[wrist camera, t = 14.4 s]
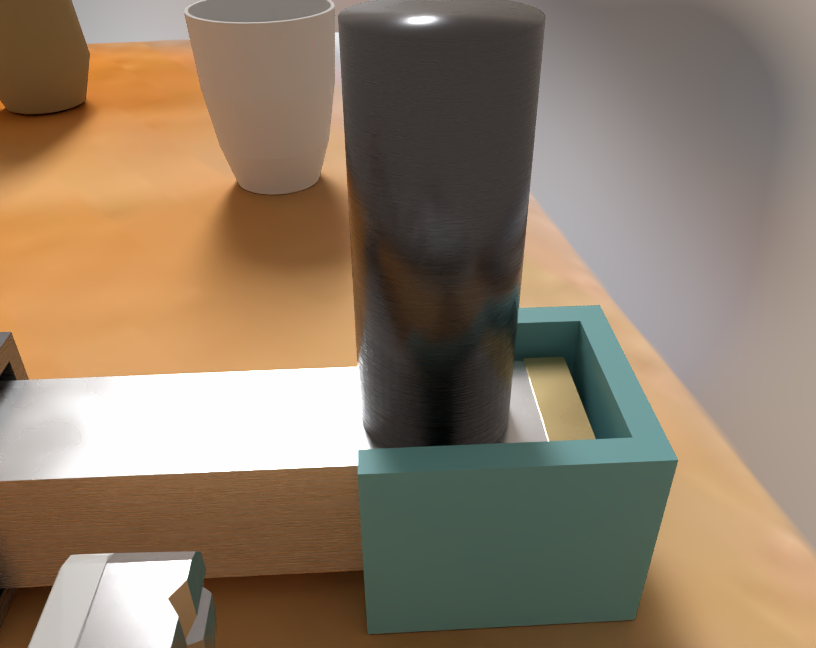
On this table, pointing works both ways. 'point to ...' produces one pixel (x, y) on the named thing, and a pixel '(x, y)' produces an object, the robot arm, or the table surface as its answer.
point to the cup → (267, 86)
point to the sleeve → (7, 365)
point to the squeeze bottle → (41, 56)
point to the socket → (522, 505)
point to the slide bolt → (374, 322)
